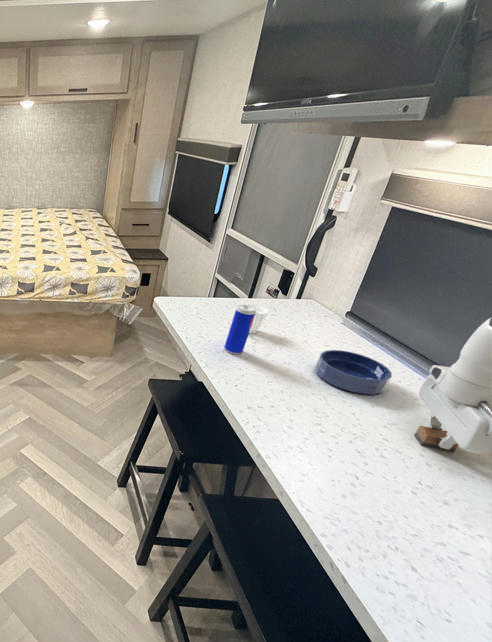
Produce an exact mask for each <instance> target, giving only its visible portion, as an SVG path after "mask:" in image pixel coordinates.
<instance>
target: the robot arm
mask: <svg viewBox="0 0 492 642" xmlns="http://www.w3.org/2000/svg"><path fill="white" fill-rule="evenodd" d="M418 391H419V392H418V397H419V399H420V400H421V401H422V402H423V403H424V405H425V406H426V408H428V409H429V411H430V413H429V418H428V424H427V425H426V427H429V428H434V429H439V430H443V428H444V429H445V431H447V434H446V435H447V437H445V438H442V437H440V438H439V439H438V441H437V443H438V445H439V446H440V447H441V448H444V449H451V447H452V446H453V445H454V444H456V443H457V444H458V445H459V446H458V447H459V448H460V449H461V450H463V451H466V452H469V453H474V454H478V455H479V454H480V455H485V454H489V453H490V452H491V451H492V316H491V317H489V318H488V319H486V320H485V321H484V322H482V324H480V325H479V326H478V327H477V329H475V330H474V332H472V334H471V336H470V337H468V340H467V341H466V342H465V344H464V345H463V347H462V349H461V350H460V353H459V358H458V359H457V361H456V362H454V363H453V364H451V365H450V366H444V365H436V364H433V365H432V366H431V367H430V369H429V375H427V376H426V378H425V380H424V381H423V382H422V385H421V387H420V389H419V390H418ZM442 427H443V428H442Z"/></svg>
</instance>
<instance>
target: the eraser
mask: <svg viewBox="0 0 492 642" xmlns="http://www.w3.org/2000/svg"><path fill="white" fill-rule="evenodd" d="M446 434H447V430H444V429H442V430H439V429H434V428H429V427H427V426H424V425H420V426H419V427H418V429H416V431H415V433H414V434H413V436H414V437H415V439H416V440H417V442H418V444H419V445H420V446H422V447H427V448H431V449H434V450H438V451H439V450H440V451H444V452H449V453H455V451H457V449H458V447H460V446H459V445H458V444H457V443H456V444H454V445H453V446H452V447H451V449H444V448H441V447H440V446H439V445H438V443H437V441H438V439H439V438H440V437H442V438H445V437H447V435H446Z"/></svg>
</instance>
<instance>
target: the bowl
mask: <svg viewBox="0 0 492 642" xmlns="http://www.w3.org/2000/svg"><path fill="white" fill-rule="evenodd" d="M319 354H320V355H319V357H318V359H317V361H316V364H315V365H314V371H315V373H316V375H317V376H318V377H320V378H321V379H322V380H324V381H325V382H327V383H328V384H330V385H333V386H334V387H336V388H339V389H342V390H346V391H349V392H353V393H358V394H362V395H376V394H381V393H382V392H384V391H385V390H386V388H387V386H388V385H389V382H390V381H391V379H392V376H393V375H392V371H391V370H390V369H389V368H388V367H387V366H385V365H384V364H383V363H381V362H380V361H377V360H375V359H373V358H371V357H369V356H367V355H363V354H359V353H357V352H356V353H355V352H353V351H347V350H340V349H339V350H338V349H330V350H324V351H323V352H321V353H319Z"/></svg>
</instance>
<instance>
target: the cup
mask: <svg viewBox="0 0 492 642" xmlns="http://www.w3.org/2000/svg"><path fill="white" fill-rule="evenodd" d="M248 306H252V307H254V308H255V309H256V314H255V317H254V320H253V323H252V326H251V329H250V332H249V334H256V333H257V331H258V329H260V327H261V326H262V324H263V323H264V320H265V319H266V317H267V315H268V313H269V311H268V310H267V308H265V307H262V306H259V305H252V304H248Z"/></svg>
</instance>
